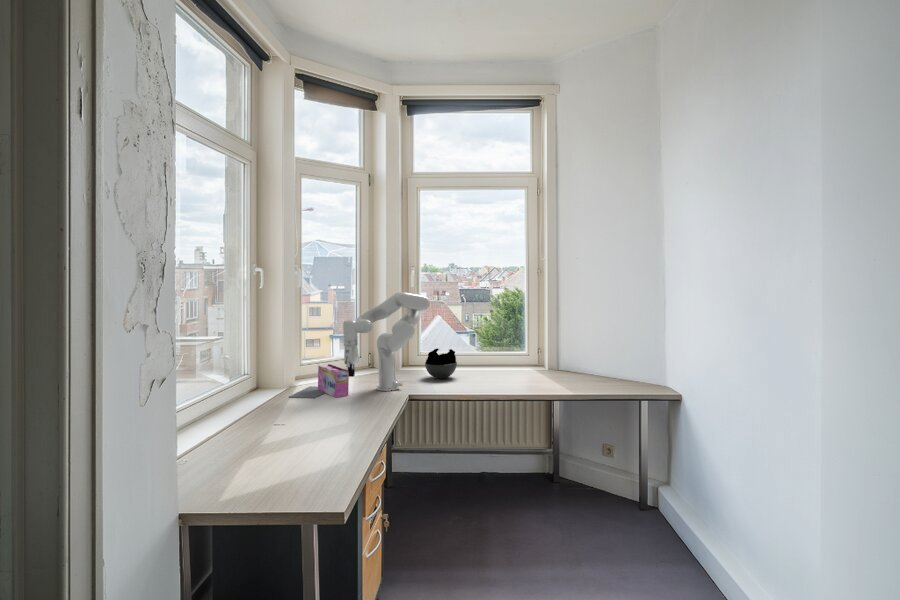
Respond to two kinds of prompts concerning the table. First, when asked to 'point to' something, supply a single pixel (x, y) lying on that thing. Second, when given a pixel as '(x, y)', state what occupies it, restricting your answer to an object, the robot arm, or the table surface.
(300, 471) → the table surface
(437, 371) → the bowl of black rocks
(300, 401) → the table surface
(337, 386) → the pink multipack carton
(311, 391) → the charcoal mat
